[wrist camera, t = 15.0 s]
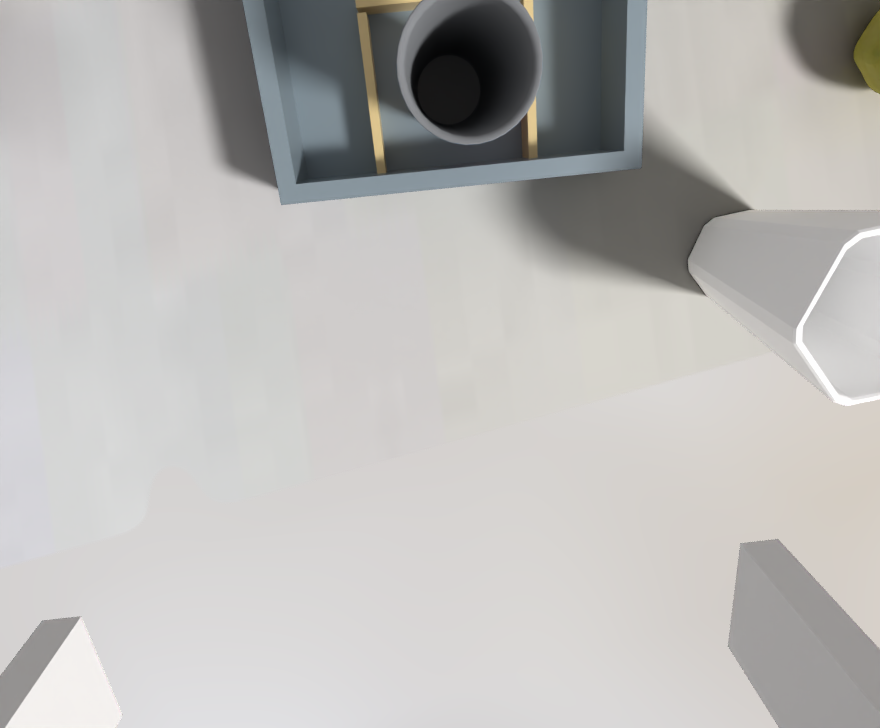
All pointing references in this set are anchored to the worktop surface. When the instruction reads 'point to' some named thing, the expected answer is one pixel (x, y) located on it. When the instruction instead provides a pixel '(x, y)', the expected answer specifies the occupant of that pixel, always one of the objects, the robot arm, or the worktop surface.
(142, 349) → the worktop surface
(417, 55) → the cup
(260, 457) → the worktop surface
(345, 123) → the walled box
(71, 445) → the worktop surface
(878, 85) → the apple
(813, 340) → the cup
